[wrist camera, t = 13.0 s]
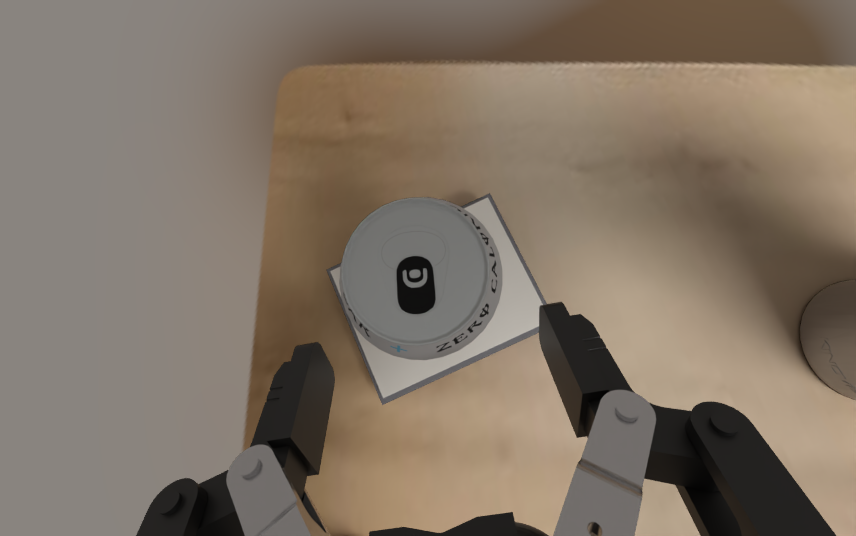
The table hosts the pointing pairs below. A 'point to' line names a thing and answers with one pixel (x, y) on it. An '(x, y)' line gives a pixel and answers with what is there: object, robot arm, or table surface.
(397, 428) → the table surface
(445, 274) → the energy drink can
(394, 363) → the podium
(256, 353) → the table surface
